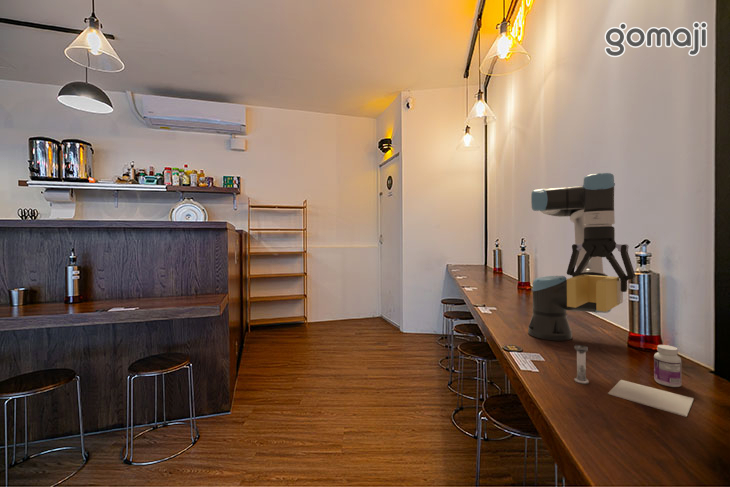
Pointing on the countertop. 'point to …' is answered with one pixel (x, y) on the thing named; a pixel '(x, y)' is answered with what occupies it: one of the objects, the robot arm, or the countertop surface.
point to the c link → (592, 291)
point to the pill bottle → (667, 366)
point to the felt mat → (653, 397)
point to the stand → (581, 364)
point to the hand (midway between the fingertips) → (599, 300)
